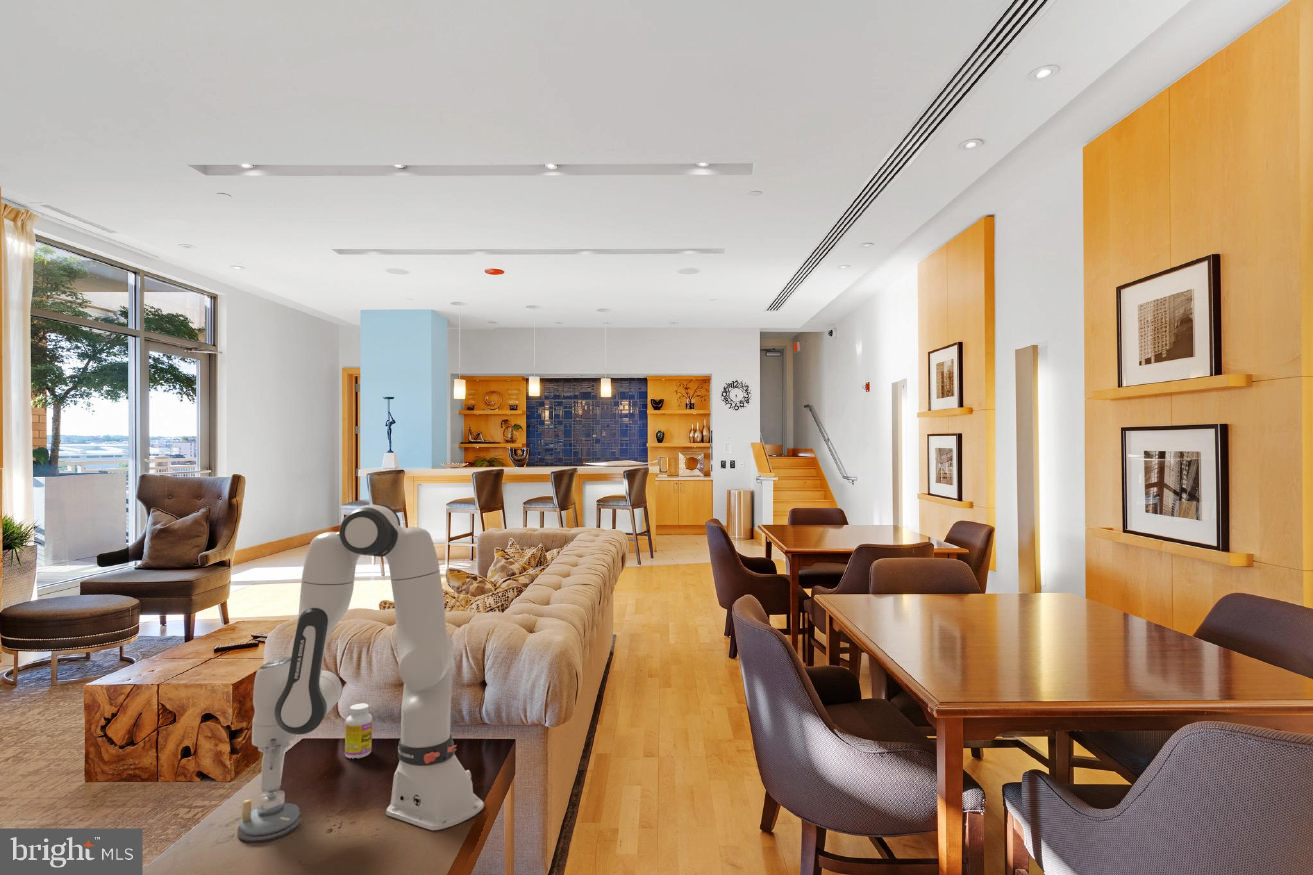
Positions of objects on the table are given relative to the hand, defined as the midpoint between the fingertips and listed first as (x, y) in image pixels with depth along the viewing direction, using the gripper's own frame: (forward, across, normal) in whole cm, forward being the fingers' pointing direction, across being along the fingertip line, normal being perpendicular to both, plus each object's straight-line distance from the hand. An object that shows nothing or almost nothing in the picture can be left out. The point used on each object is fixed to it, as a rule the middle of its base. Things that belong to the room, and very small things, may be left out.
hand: (273, 794), depth 155 cm
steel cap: (+1, -5, 0) cm, 5 cm away
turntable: (+3, -8, 0) cm, 8 cm away
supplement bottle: (+4, +25, -19) cm, 31 cm away
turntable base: (+4, -8, 0) cm, 8 cm away
